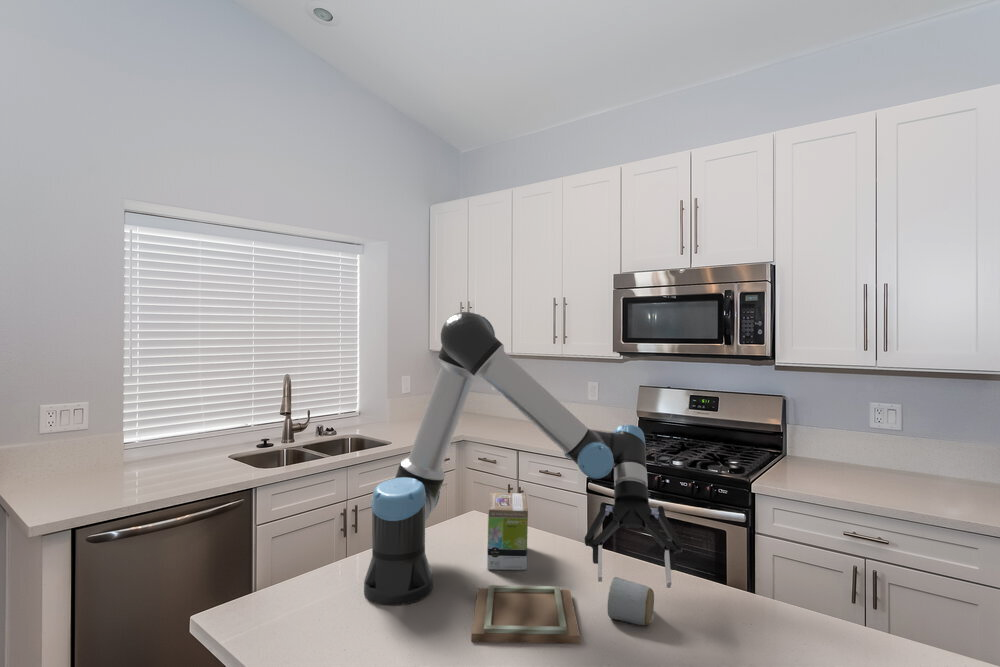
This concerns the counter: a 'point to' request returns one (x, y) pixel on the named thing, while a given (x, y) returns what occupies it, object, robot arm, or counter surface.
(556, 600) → the board
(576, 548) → the counter surface
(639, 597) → the ceramic mug
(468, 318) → the robot arm
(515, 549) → the tea box
